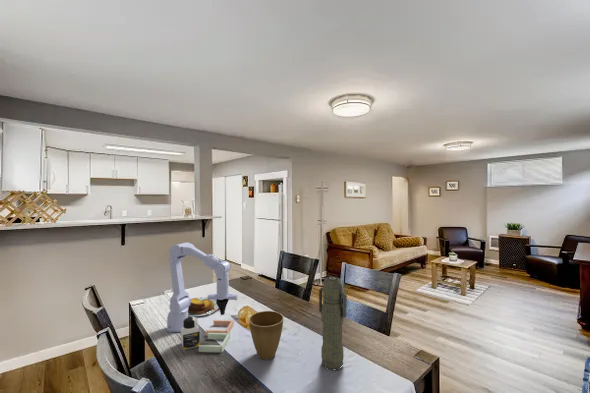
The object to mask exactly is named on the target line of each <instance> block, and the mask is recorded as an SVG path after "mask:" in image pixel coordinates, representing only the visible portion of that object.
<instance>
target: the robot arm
mask: <svg viewBox="0 0 590 393" xmlns="http://www.w3.org/2000/svg"><path fill="white" fill-rule="evenodd" d="M168 252H169V257H168V262H169V269H170V277H171V285H172V296H171V297H170V299H169V300H170V302H169V310H170V311H169V312H168V314H167V318H166V319H167V320H166V322H167V324H166V326H167V328H166V332H169V333H171V332H173V333H174V332H175V333H181V329H182V328H183V321H184V320H185V319H186V318H188V317H189V316H188V314H189V313H188V309H189V306H190V305H191V299H192V298H191V297H190V295H189V292H187V291H186V290H185V283H184V274H183V268H182V261H183V259H184V258H185V257H186V256H192V257H195V259H198V260H200V261H202V262H203V265H204V266H205V267H207V268H210V269H212V270H213V271H214V273H215V277H216V293H214V294H208V295H207V296H206V297H207V299H208V300H210V299H217V301H216V304H217V305H218V307H219V309H218V310H219V313H220V315H221V316H224V315H225V313H226V308H227V304H228V302H229V301H232V300H233V301H238V299H239V298H238V294H231V293H230V292H229V291H230V290H229V289H230V288H229V286H230V285H229V284H230V283H229V281H230V280H229V275H230V274H229V272H230V270H231V268H232V265H231V263H230V262H229V260H222V259H220V258H218V257H216V256H215V255H214V254H210V253H209V254H206V253H205V252H204V251H202V250H200V249H198V248H197V247H196V246H194V244H193V243H191V242H188V241H184V242H183V243H178V244H177V243H176V244H173V245H172V246H170V248H169V249H168Z"/></svg>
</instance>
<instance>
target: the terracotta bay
mask: <svg viewBox="0 0 590 393" xmlns="http://www.w3.org/2000/svg"><path fill="white" fill-rule="evenodd" d="M234 323H235V322H234V320H231V319H228V320H226V319H222V320H221V319H214V320H213V326H214V327H215V326H216V327H226V329H225V330H224V329H206V330H205V336H206V337H208V333H231V330H232V329H233V328H234Z"/></svg>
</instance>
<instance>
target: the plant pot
mask: <svg viewBox="0 0 590 393" xmlns="http://www.w3.org/2000/svg"><path fill="white" fill-rule="evenodd" d="M284 319H285V318H284V314H282V313H280V312H278V311H272V310H264V311H263V310H262V311H258V312H255V313H253V314H252V315H251V316H250V317H249V318H248V323H249V329H250V330H249V331H250V335H251V339H252V343H253V346H254V349H255V352H256V354H257V356H258V358H259V359H262V360H271V359H272V358H274V357H275V356H276V354H277V350H278V348H279V346H280V345H279V344H280V341H281V337H282V333H283V332H282V331H283V327H284V326H283V325H284Z"/></svg>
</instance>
